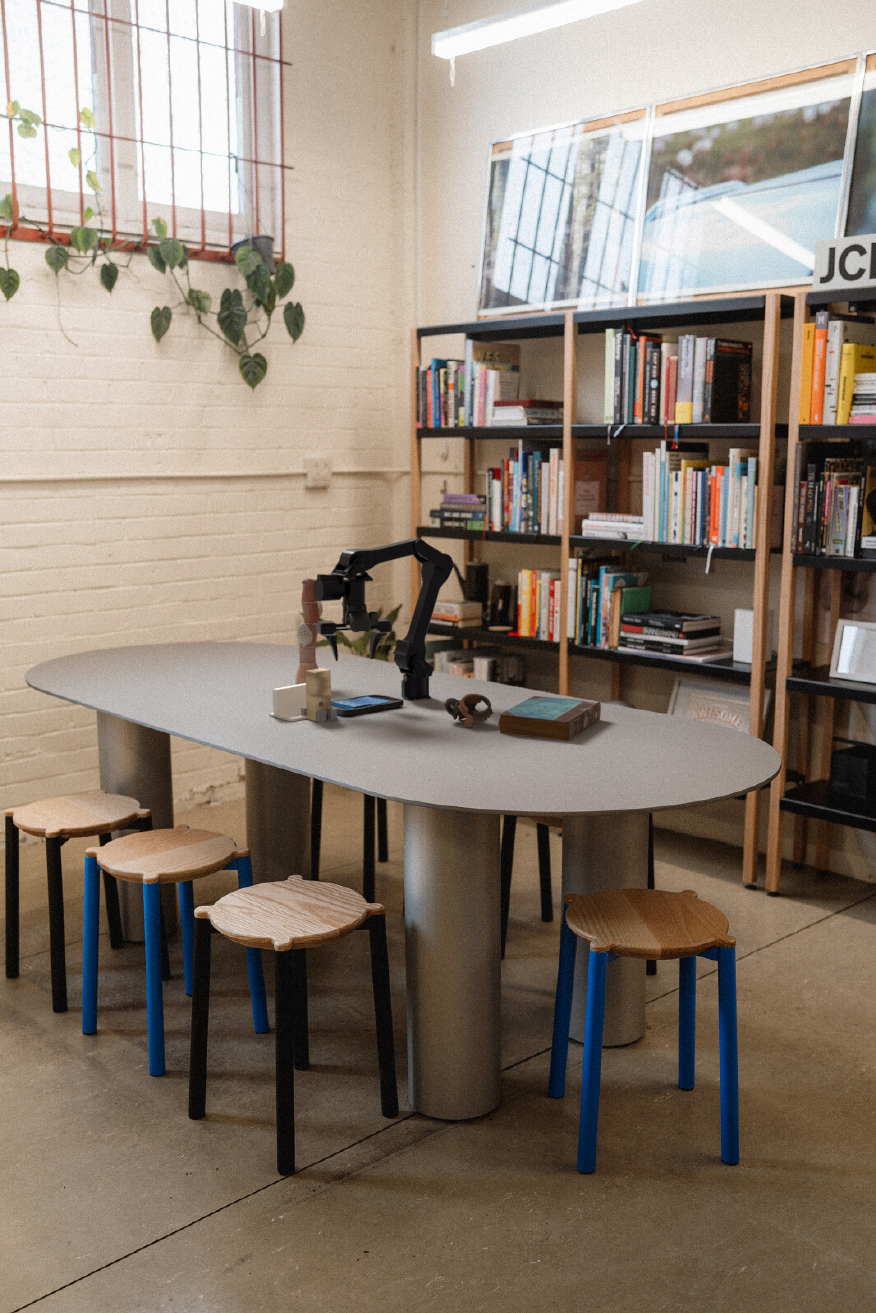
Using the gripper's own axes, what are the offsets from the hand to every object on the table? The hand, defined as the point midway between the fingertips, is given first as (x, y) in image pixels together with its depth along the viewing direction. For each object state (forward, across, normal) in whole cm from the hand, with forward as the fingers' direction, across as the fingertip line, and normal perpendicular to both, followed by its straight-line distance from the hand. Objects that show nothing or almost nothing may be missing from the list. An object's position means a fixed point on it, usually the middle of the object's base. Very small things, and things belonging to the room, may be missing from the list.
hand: (354, 660), depth 301 cm
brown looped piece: (+12, +21, -28) cm, 37 cm away
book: (+12, +38, -38) cm, 55 cm away
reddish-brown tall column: (+12, -4, +31) cm, 34 cm away
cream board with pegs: (+12, -13, -7) cm, 19 cm away
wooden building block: (+12, -12, -10) cm, 20 cm away
